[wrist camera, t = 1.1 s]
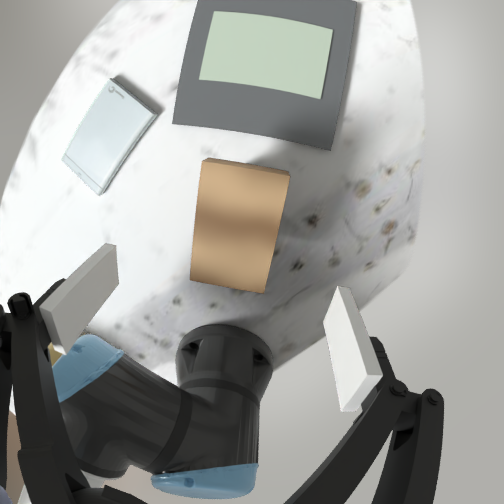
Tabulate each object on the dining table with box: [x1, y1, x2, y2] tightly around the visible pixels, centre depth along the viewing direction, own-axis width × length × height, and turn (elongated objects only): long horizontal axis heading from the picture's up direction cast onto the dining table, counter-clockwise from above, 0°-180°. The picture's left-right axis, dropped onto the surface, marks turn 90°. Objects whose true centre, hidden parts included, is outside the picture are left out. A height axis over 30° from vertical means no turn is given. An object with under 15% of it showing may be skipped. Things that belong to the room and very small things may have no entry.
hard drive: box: [61, 78, 157, 196], centre depth 28 cm, size 2×8×12 cm
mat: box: [172, 0, 357, 151], centre depth 23 cm, size 19×17×1 cm
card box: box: [190, 158, 290, 294], centre depth 24 cm, size 11×7×2 cm, turn 170°
